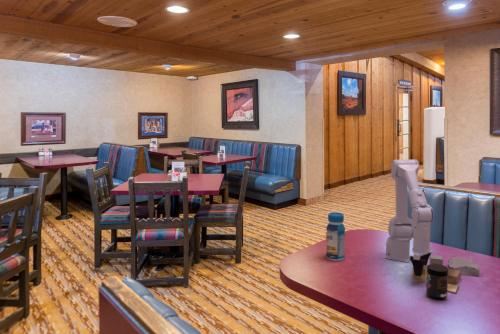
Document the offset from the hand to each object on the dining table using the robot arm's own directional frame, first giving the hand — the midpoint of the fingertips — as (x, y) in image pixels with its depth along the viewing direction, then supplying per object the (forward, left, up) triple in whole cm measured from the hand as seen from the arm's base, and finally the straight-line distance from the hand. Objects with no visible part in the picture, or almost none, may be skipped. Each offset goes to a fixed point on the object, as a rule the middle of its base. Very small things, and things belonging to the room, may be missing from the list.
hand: (420, 272), depth 147 cm
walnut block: (+9, +5, -3) cm, 11 cm away
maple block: (0, 0, -3) cm, 3 cm away
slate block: (+3, +14, -3) cm, 15 cm away
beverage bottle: (-36, +3, -3) cm, 36 cm away
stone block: (+12, +18, -3) cm, 22 cm away
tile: (+10, -3, -3) cm, 11 cm away
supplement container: (+8, -12, -3) cm, 15 cm away
